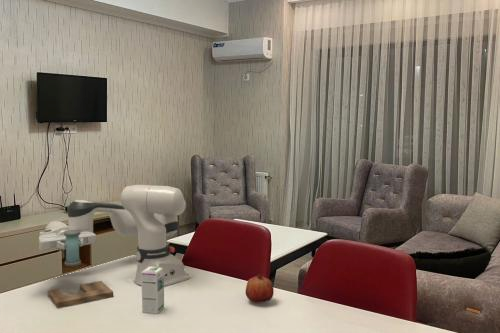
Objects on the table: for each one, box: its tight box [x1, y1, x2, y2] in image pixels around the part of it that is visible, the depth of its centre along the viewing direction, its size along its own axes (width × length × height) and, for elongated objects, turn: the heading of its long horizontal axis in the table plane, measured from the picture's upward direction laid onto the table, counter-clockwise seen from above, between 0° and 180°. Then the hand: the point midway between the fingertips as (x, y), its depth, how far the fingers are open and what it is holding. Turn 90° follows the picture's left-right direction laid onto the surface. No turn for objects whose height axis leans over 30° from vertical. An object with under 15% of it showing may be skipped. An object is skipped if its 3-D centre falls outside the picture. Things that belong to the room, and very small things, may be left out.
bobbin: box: [64, 230, 82, 267], centre depth 171 cm, size 6×6×12 cm
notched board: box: [47, 280, 114, 309], centre depth 172 cm, size 20×14×2 cm
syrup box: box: [141, 267, 165, 315], centre depth 160 cm, size 6×6×14 cm
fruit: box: [245, 273, 274, 304], centre depth 169 cm, size 11×10×10 cm
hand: (73, 245), depth 170 cm, fingers closed on bobbin, 4 cm apart
